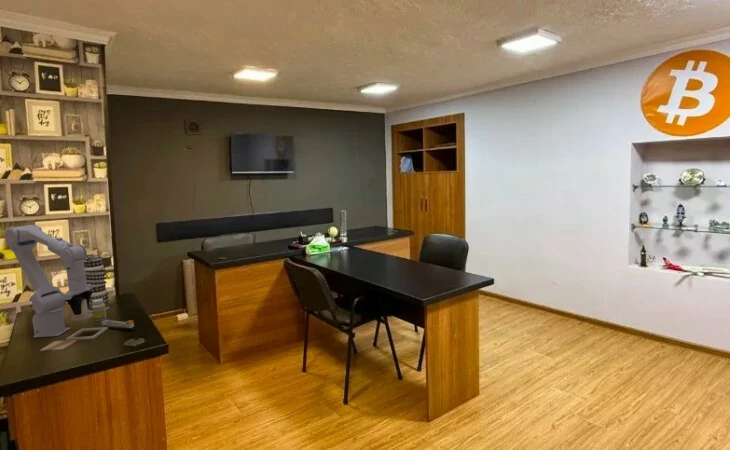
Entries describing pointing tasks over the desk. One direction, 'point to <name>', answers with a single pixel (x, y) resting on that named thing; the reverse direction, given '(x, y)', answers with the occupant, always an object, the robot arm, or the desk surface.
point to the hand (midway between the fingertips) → (81, 312)
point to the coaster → (58, 345)
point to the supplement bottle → (98, 310)
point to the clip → (118, 323)
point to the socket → (87, 336)
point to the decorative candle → (96, 279)
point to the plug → (82, 312)
